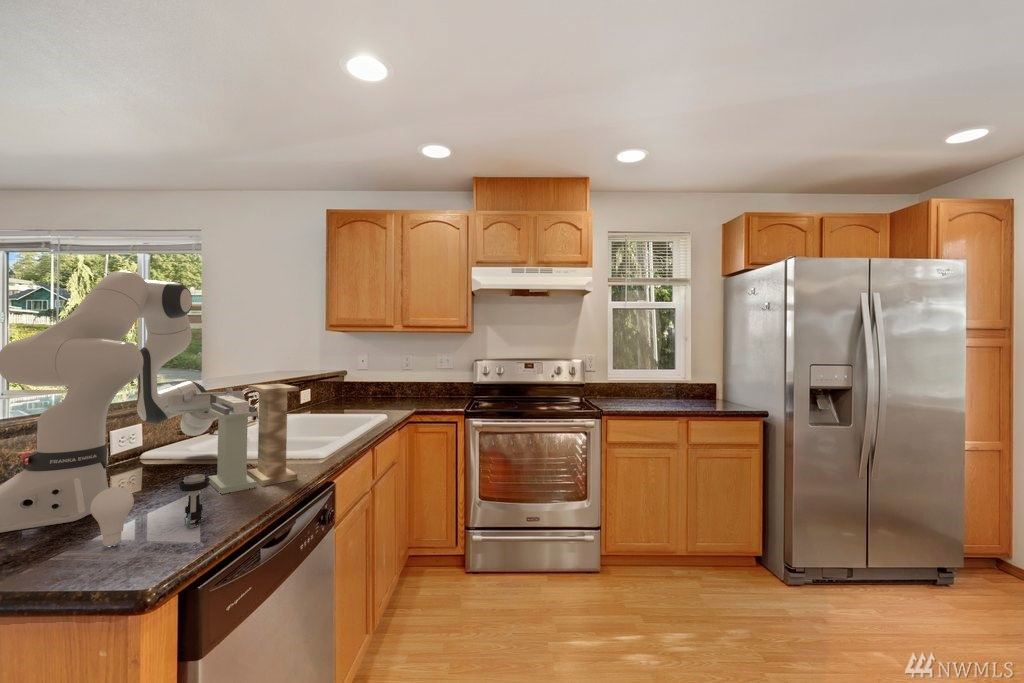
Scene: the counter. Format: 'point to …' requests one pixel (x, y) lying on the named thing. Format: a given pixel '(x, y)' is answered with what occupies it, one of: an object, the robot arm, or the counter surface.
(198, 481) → the push button
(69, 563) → the counter surface
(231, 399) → the aluminium bar
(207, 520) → the counter surface
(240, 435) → the pale green pedestal
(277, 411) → the stone pillar pedestal
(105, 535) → the lightbulb
